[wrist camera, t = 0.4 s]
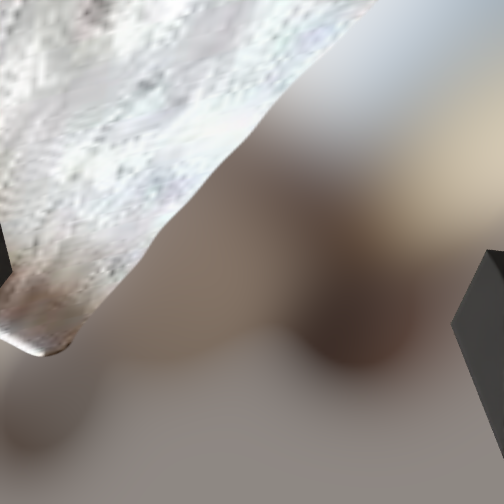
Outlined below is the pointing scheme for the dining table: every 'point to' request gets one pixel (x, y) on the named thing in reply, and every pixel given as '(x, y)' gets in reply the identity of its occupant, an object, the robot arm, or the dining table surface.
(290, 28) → the dining table surface
